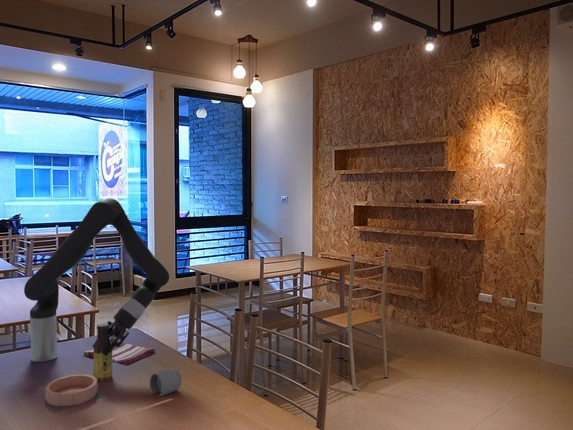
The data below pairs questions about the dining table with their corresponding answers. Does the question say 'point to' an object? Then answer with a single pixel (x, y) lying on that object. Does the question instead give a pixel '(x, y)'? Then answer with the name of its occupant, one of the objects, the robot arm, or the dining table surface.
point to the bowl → (71, 390)
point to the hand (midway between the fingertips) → (99, 351)
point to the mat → (71, 406)
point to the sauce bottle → (100, 360)
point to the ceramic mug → (165, 382)
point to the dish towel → (125, 353)
